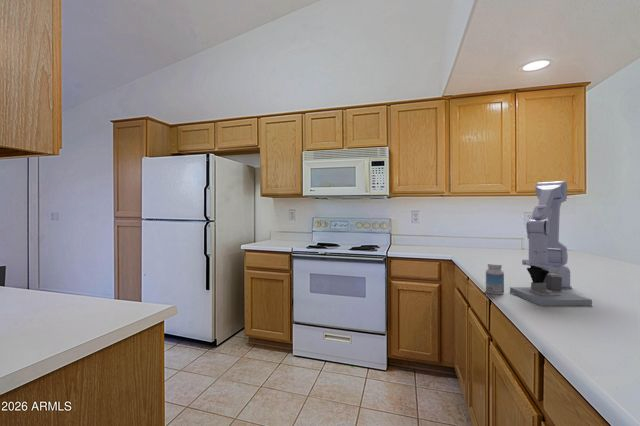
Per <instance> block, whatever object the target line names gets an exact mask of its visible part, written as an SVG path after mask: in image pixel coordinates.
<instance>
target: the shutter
mask: <svg viewBox="0 0 640 426" xmlns="http://www.w3.org/2000/svg"><path fill="white" fill-rule="evenodd" d="M530 287H531V289H529V291H532V292H534V293H537V294H539V295H542V296H561V294H559V293H556V292H553V291H551V290H548V289H546V283H545V282H533V281H532V282H530Z"/></svg>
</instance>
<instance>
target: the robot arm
mask: <svg viewBox="0 0 640 426" xmlns="http://www.w3.org/2000/svg"><path fill="white" fill-rule="evenodd" d="M534 188H535V191H534V192H535V195H536V197H537V199H538V205H536V206H535V207H534V208H533V211H532V214H531V217H530V219H529V220H527V221H526V225H525V226H526V227H525V228H526V229H525V230H526V237H527V240H528V259H522V260H521V263H522V264H521V265H524V266H529V267H526V271H527V272H528V273H529V276H530V278H531V281H532V282H544V279H545V277H546V276H547V274H548V273H554V274H558V275H559V277H562V289H563V288H573V286H572V285H571V271H570V268H569V266H567V264H568V248H567V246H566V245H564V244H563V243H562V242H560V239H559V237H560V216H561V214H560V213H561V206H562V203H564V202H566V201H567V199H568V184H567V181H565V180H559V181H545V182H544V181H543V182H541V181H539V182H536V184H535V187H534Z"/></svg>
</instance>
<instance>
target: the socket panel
mask: <svg viewBox="0 0 640 426" xmlns="http://www.w3.org/2000/svg"><path fill="white" fill-rule="evenodd" d="M529 289H531V286H529V287H527V286H524V287H519V286H518V287H517V286H515V287H511V286H510V287H509V292H510V293H511V294H513V295H515V296H518V297H520V298H521V299H524V300H527V301H528V302H532V303H534V304H536V305H538V306H540V307H560V306H561V307H565V306H566V307H567V306H569V307H570V306H571V307H576V305H581V306H580V307H586V306H587V307H590V306H592V305H593V300H592V299H591V298H589V297H585V296H581V295H578V294H576V293H573V292H570V291H567V290H564V289H562V291H553V292H556V293H559V294H561V296H542V295H539V294H537V293H534V292H532V291H529Z"/></svg>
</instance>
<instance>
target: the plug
mask: <svg viewBox="0 0 640 426" xmlns="http://www.w3.org/2000/svg"><path fill="white" fill-rule="evenodd" d="M544 282H545V283H546V289H548V290H551V291H562V290H563V288H562V277H559V275H558V274H554V273H548V274H547V276H546V277H545V279H544Z"/></svg>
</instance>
